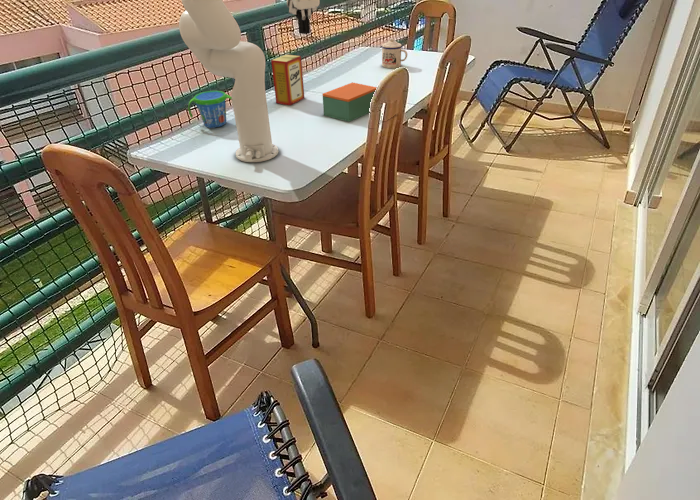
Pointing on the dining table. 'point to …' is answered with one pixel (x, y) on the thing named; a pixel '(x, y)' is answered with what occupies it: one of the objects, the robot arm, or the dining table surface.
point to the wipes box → (347, 107)
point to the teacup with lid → (392, 54)
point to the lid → (349, 92)
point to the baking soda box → (288, 79)
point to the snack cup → (211, 107)
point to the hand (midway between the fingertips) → (304, 33)
